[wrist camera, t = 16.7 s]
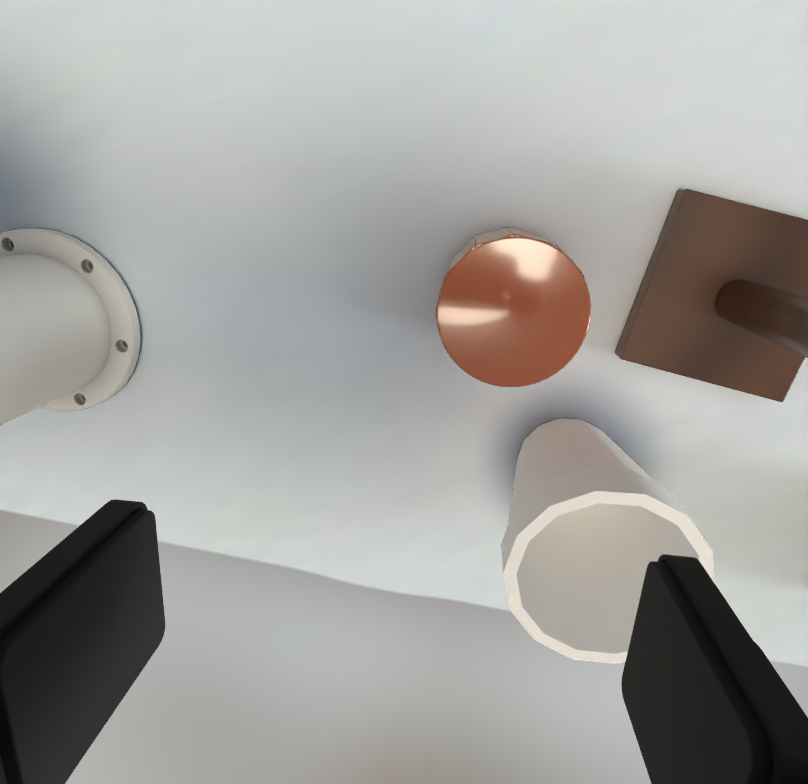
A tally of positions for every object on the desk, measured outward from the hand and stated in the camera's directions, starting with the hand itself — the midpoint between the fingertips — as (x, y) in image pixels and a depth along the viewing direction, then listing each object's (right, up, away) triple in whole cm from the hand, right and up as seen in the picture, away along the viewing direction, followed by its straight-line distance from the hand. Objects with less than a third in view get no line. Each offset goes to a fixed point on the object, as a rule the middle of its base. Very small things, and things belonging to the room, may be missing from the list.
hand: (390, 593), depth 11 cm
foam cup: (+11, -1, +28) cm, 30 cm away
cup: (+6, +10, +25) cm, 27 cm away
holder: (+20, +9, +23) cm, 32 cm away
